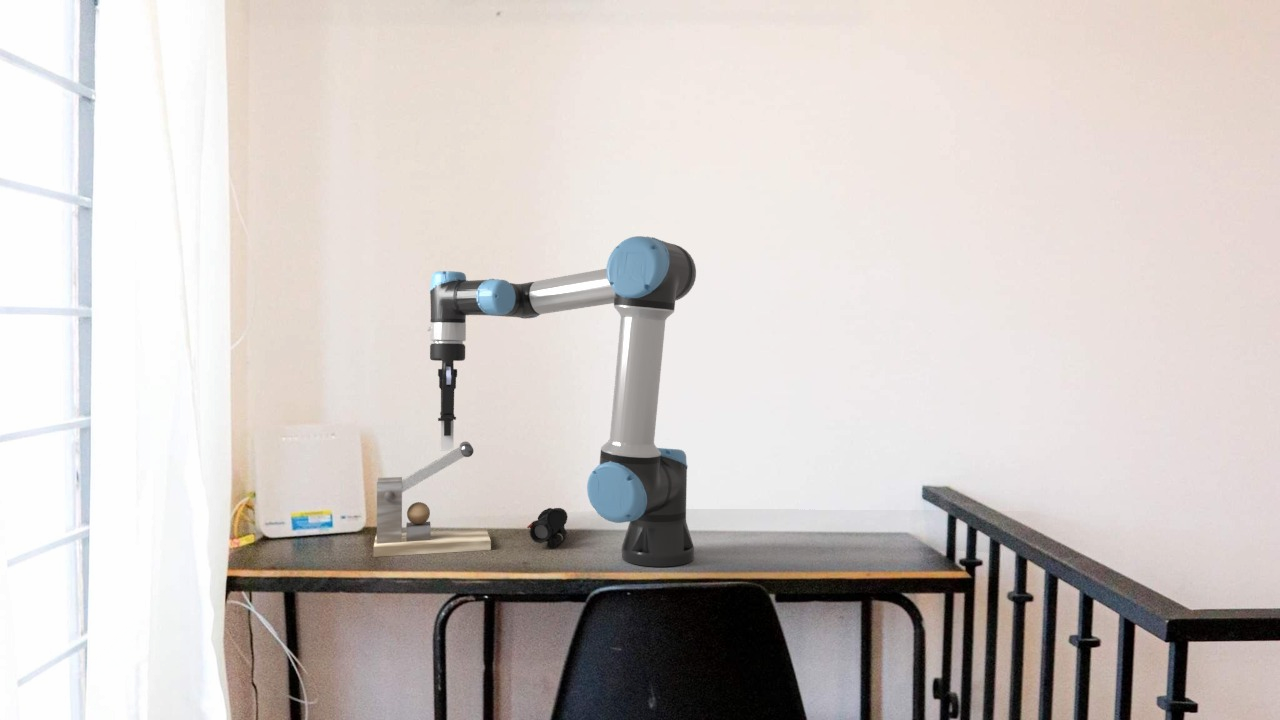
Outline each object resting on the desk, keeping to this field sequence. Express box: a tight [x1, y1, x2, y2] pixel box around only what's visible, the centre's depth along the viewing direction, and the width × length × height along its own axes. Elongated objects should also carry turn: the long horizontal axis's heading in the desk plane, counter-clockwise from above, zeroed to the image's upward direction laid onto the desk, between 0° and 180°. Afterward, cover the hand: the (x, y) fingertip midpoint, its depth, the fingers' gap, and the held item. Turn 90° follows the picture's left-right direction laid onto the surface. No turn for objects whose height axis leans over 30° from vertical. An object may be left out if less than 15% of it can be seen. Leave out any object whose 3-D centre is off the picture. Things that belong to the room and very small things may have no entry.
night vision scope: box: [526, 507, 568, 549], centre depth 181 cm, size 8×18×10 cm
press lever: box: [401, 441, 474, 493], centre depth 175 cm, size 7×21×3 cm, turn 106°
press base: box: [372, 476, 492, 558], centre depth 175 cm, size 12×24×15 cm, turn 106°
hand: (446, 450), depth 176 cm, fingers closed
